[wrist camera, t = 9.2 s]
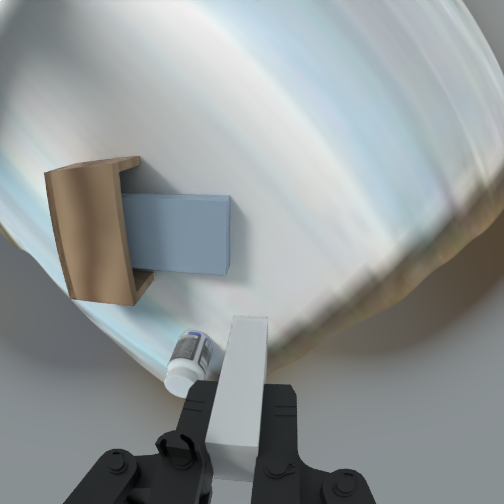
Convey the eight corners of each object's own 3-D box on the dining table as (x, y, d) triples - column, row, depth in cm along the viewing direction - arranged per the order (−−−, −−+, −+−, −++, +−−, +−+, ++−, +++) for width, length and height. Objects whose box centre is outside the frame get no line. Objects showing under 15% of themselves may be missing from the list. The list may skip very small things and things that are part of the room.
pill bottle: (174, 344, 41) (155, 387, 33) (188, 323, 39) (169, 366, 31) (204, 361, 41) (190, 405, 34) (219, 340, 40) (207, 386, 32)
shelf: (94, 275, 38) (70, 298, 32) (76, 163, 32) (44, 172, 26) (153, 279, 37) (134, 306, 31) (139, 155, 31) (112, 163, 25)
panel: (114, 255, 37) (102, 265, 34) (107, 193, 34) (94, 199, 31) (230, 263, 36) (226, 275, 33) (230, 194, 33) (226, 201, 30)
